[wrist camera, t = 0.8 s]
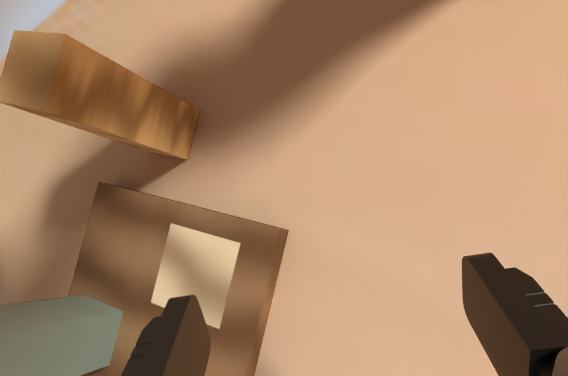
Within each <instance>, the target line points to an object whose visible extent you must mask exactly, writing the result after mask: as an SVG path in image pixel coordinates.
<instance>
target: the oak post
mask: <svg viewBox="0 0 568 376" xmlns="http://www.w3.org/2000/svg"><path fill="white" fill-rule="evenodd" d="M0 103H3V104H6V105H9V106H12V107H15V108H18V109H21V110H24V111H27V112H30V113H33V114H36V115H39V116H42V117H45V118H48V119H51V120H54V121H57V122H60V123H63V124H66V125H69V126H73V127H76V128H79V129H82V130H85V131H88V132H91V133H94V134H97V135H100V136H103V137H106V138H109V139H112V140H115V141H118V142H121V143H124V144H127V145H130V146H133V147H136V148H139V149H142V150H145V151H148V152H153V153H158V154H162V155H167V156H172V157H177V158H182V159H186V160H188V157H189V153H190V149H191V145H192V141H193V137H194V133H195V129H196V125H197V121H198V118H199V114H200V110H198V109H197V108H195V107H193V106H191V105H190V104H188V103H186V102H184V101H183V100H181V99H179V98H177V97H176V96H174V95H172V94H170V93H168V92H167V91H165V90H163V89H161V88H160V87H158V86H156V85H154V84H153V83H151V82H149V81H147V80H146V79H144V78H142V77H140V76H138V75H137V74H135V73H133V72H131V71H130V70H128V69H126V68H124V67H123V66H121V65H119V64H117V63H116V62H114V61H112V60H110V59H109V58H107V57H105V56H103V55H101V54H100V53H98V52H96V51H94V50H93V49H91V48H89V47H87V46H86V45H84V44H82V43H80V42H79V41H77V40H75V39H73V38H71V37H70V36H68V35H66V34H58V33H44V32H31V31H17V30H15V31H14V33H13V37H12V40H11V44H10V47H9V51H8V54H7V58H6V61H5V65H4V68H3V72H2V75H1V79H0Z"/></svg>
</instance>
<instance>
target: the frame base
mask: <svg viewBox="0 0 568 376" xmlns="http://www.w3.org/2000/svg"><path fill="white" fill-rule="evenodd" d="M288 231H289V230H286V229H282V228H278V227H274V226H271V225H267V224H263V223H259V222H255V221H251V220H247V219H243V218H240V217H236V216H232V215H228V214H224V213H220V212H216V211H213V210H209V209H205V208H201V207H197V206H193V205H189V204H186V203H182V202H178V201H174V200H170V199H166V198H162V197H159V196H155V195H151V194H147V193H143V192H139V191H135V190H131V189H128V188H124V187H120V186H116V185H111V184H106V183H101V182H99V183H98V186H97V190H96V194H95V198H94V201H93V205H92V209H91V213H90V216H89V220H88V224H87V228H86V231H85V235H84V239H83V243H82V247H81V250H80V254H79V258H78V262H77V265H76V269H75V273H74V277H73V280H72V284H71V288H70V292H69V295H68V297H64V298H56V299H48V300H40V301H32V302H24V303H15V304H7V305H0V376H80V375H82V376H121V375H122V372H123V370H124V368H125V366H126V364H127V362H128V360H129V359H130V355H131V353H132V351H133V349H134V347H136V342H137V340H138V338H139V336H140V334H141V332H142V330H143V329H144V328H145V327H146V326H147V324H148V323H149V322H150V321H151V320H152V319H153V318H154V317H158V316H162V313H163V311H164V309H165V306H166V304H167V302H168V300H169V299H170V298H173V297H180V296H187V295H195V296H196V297H197V299H198V302H199V305H200V307H201V310H202V313H203V316H204V319H205V322H206V325H207V328H208V331H209V334H210V342H211V349H210V355H209V359H208V364H207V368H206V372H205V376H254V373H255V369H256V365H257V361H258V357H259V352H260V348H261V344H262V340H263V336H264V331H265V327H266V323H267V319H268V315H269V310H270V306H271V302H272V298H273V294H274V290H275V285H276V281H277V277H278V273H279V269H280V264H281V260H282V256H283V252H284V248H285V243H286V239H287V235H288Z"/></svg>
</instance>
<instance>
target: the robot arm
mask: <svg viewBox="0 0 568 376" xmlns="http://www.w3.org/2000/svg"><path fill="white" fill-rule="evenodd" d="M462 289H463V304H464V309H465V313H466V316H467V318H468V320H469V322H470V324H471V326H472V328H473V330H474V331H475V333H476V335H477V337H478V339H479V341H480V342H481V344H482V346H483V348H484V350H485V352H486V353H487V355H488V357H489V359H490V361H491V363H492V364H493V366H494V368H495V370H496V372H497V373H498V375H499V376H568V318H567V317H566V316H565V314H564V313H563V312H562V311H561V310H560V309H559V308H558V306H557V305H554V302H553V301H552V299H551V298H550V297H549V296H548V295H547V294H545V293H544V290H543V289H542V288H541V287H540V286H539V284H538V283H537V282H536V281H535V280H534V279H533V278H532V277H531V276H529V275H527V274H525V273H524V272H522V271H520V270H519V269H517V268H507V269H505V268H504V267H503V266H502V265H501V263H500V262H499V261H498V260H497V258H496V257H495V256H494V255H493V254H492V253H484V254H477V255H470V256H464V257H463V259H462ZM210 349H211V342H210V334H209V331H208V328H207V325H206V322H205V319H204V316H203V313H202V310H201V307H200V305H199V302H198V299H197V297H196V296H195V295H187V296H180V297H173V298H170V299H169V300H168V302H167V304H166V306H165V309H164V311H163V313H162V316H158V317H154V318H153V319H152V320H151V321H150V322H149V323H148V324H147V326H146V327H145V328H144V329H143V330H142V332H141V334H140V336H139V338H138V340H137V342H136V347H134V349H133V351H132V353H131V355H130V359H129V360H128V362H127V364H126V366H125V368H124V370H123V372H122V375H121V376H205V372H206V368H207V364H208V359H209V355H210Z"/></svg>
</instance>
